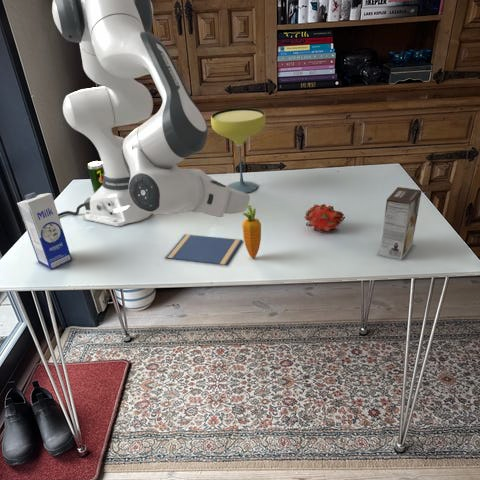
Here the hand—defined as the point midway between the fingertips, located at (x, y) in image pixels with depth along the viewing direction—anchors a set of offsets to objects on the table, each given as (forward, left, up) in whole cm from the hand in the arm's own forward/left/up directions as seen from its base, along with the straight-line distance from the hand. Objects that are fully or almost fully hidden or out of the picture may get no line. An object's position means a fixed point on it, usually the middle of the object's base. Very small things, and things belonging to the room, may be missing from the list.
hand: (224, 188), depth 114 cm
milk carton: (-50, -7, -22) cm, 56 cm away
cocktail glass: (-13, +54, -22) cm, 60 cm away
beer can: (-61, +38, -22) cm, 75 cm away
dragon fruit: (+21, +27, -22) cm, 40 cm away
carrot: (+5, +6, -22) cm, 23 cm away
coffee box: (+42, +18, -22) cm, 50 cm away
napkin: (-10, +8, -22) cm, 26 cm away
